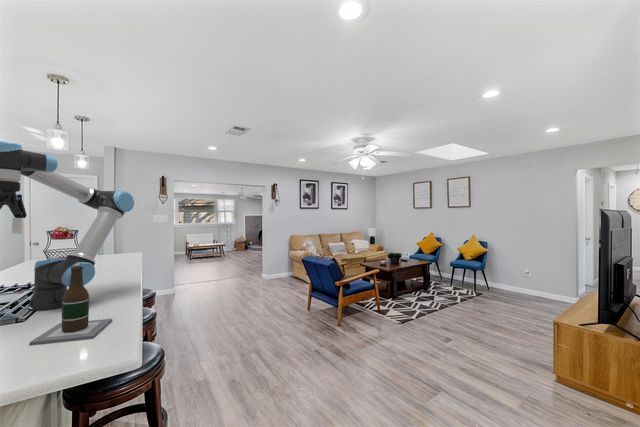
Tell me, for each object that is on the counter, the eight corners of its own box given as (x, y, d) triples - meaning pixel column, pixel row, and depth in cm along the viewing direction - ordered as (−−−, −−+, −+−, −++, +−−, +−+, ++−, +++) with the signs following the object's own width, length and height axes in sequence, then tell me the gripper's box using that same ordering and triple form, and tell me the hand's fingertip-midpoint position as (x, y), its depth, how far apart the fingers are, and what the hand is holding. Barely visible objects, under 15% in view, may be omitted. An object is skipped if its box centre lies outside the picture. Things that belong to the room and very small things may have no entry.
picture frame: (59, 325, 111) (59, 323, 111) (112, 320, 117) (112, 318, 117) (29, 345, 94) (29, 342, 94) (93, 338, 100) (93, 335, 100)
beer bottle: (72, 334, 101) (74, 268, 101) (55, 332, 103) (57, 267, 103) (93, 326, 109) (95, 265, 109) (77, 324, 110) (79, 264, 111)
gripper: (16, 184, 120) (15, 232, 120) (-35, 175, 97) (-37, 236, 96) (38, 185, 123) (37, 232, 122) (-6, 177, 99) (-8, 236, 99)
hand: (4, 234), depth 109 cm, fingers open, 13 cm apart
